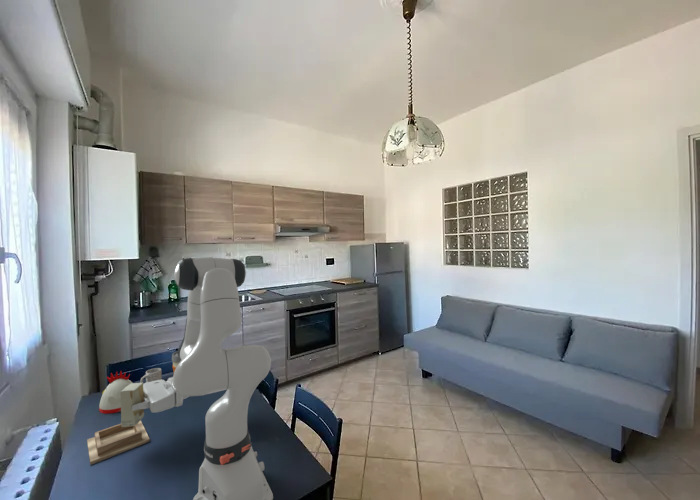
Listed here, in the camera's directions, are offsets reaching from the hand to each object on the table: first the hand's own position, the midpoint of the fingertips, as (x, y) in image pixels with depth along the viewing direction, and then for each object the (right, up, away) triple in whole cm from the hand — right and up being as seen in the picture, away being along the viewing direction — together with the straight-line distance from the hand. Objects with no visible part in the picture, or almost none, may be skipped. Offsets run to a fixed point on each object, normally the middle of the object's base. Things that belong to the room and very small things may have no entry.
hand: (129, 403), depth 102 cm
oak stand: (-7, -16, +5) cm, 18 cm away
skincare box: (+1, -7, +1) cm, 7 cm away
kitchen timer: (-27, -17, +30) cm, 44 cm away
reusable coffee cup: (-9, -16, +53) cm, 56 cm away
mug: (-26, -16, +49) cm, 58 cm away
